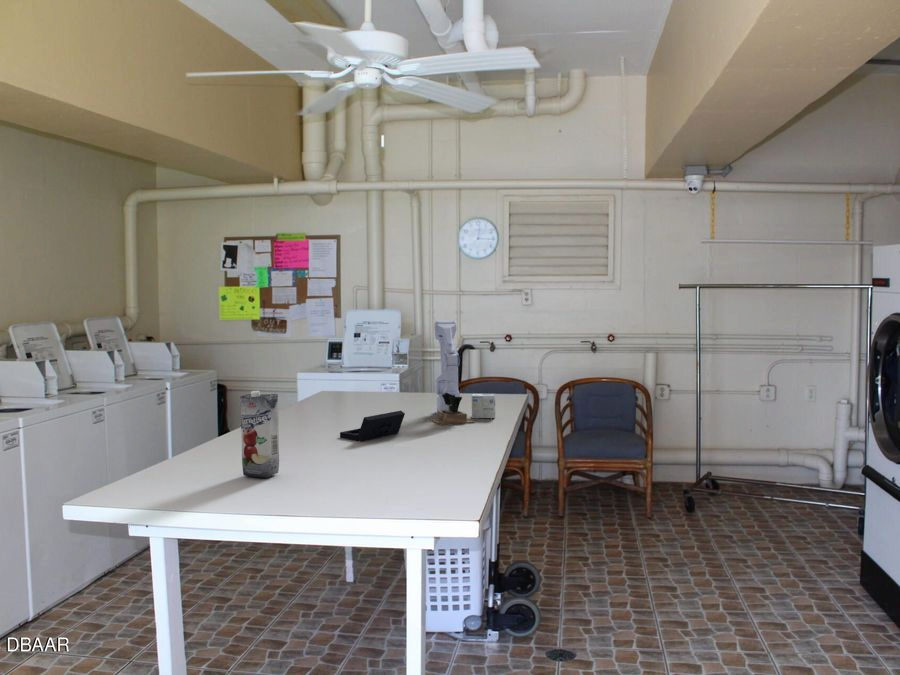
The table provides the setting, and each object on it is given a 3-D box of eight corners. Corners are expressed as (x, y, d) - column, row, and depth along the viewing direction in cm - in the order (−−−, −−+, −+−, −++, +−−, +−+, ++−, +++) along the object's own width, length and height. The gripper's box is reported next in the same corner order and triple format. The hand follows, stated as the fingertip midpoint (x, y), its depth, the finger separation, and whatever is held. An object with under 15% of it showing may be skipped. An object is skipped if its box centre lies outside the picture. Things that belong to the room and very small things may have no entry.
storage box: (377, 430, 309) (376, 407, 309) (405, 435, 299) (405, 411, 298) (340, 438, 293) (339, 413, 293) (368, 443, 283) (368, 417, 282)
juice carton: (255, 470, 240) (253, 388, 239) (283, 472, 237) (281, 389, 235) (238, 476, 232) (236, 391, 230) (266, 479, 228) (264, 392, 227)
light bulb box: (495, 416, 341) (495, 393, 340) (495, 419, 334) (494, 395, 333) (472, 416, 342) (472, 393, 341) (471, 418, 335) (471, 395, 334)
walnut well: (430, 420, 332) (429, 411, 332) (463, 417, 337) (462, 408, 337) (440, 425, 319) (440, 415, 319) (474, 422, 324) (474, 413, 324)
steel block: (445, 419, 329) (445, 404, 329) (454, 419, 331) (453, 403, 330) (448, 421, 325) (448, 405, 325) (457, 420, 327) (456, 405, 326)
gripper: (437, 379, 332) (438, 409, 333) (448, 383, 319) (449, 414, 320) (452, 378, 335) (452, 408, 336) (464, 382, 321) (464, 413, 322)
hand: (451, 411), depth 328 cm, fingers open, 7 cm apart
